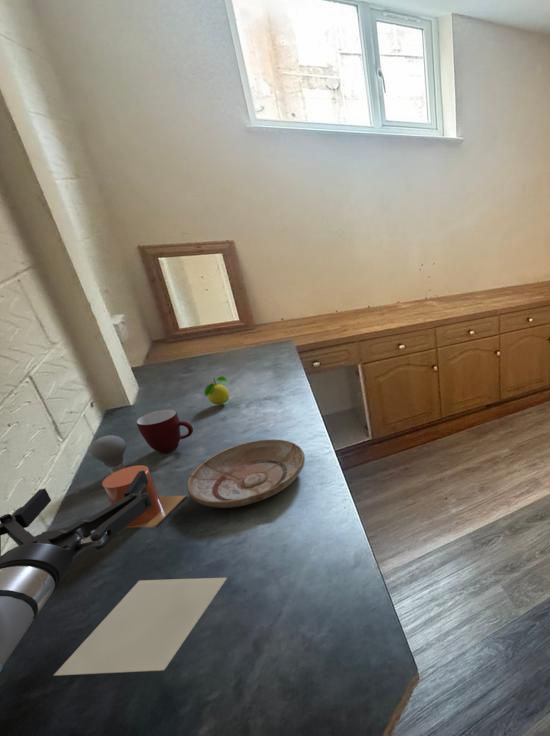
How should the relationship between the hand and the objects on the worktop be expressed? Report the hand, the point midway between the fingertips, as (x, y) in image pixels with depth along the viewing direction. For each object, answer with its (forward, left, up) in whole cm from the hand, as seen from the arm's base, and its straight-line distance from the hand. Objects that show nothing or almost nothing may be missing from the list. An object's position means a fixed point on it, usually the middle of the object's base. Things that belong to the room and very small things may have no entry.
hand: (96, 485), depth 72 cm
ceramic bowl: (+15, +18, -15) cm, 28 cm away
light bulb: (-20, +23, -15) cm, 34 cm away
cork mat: (-3, +8, -15) cm, 17 cm away
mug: (-14, +33, -15) cm, 39 cm away
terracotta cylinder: (-3, +8, -14) cm, 17 cm away
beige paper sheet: (+17, -16, -15) cm, 28 cm away
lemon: (-16, +57, -15) cm, 61 cm away
